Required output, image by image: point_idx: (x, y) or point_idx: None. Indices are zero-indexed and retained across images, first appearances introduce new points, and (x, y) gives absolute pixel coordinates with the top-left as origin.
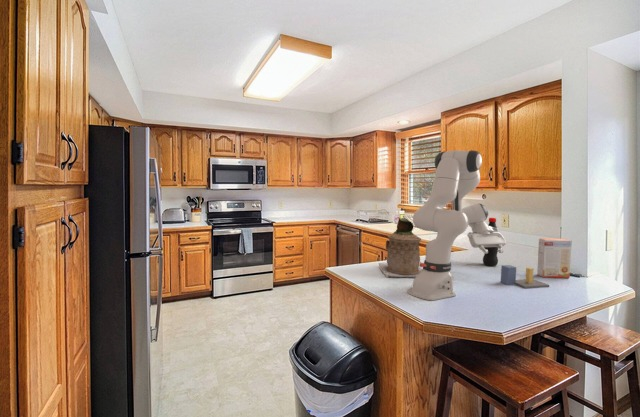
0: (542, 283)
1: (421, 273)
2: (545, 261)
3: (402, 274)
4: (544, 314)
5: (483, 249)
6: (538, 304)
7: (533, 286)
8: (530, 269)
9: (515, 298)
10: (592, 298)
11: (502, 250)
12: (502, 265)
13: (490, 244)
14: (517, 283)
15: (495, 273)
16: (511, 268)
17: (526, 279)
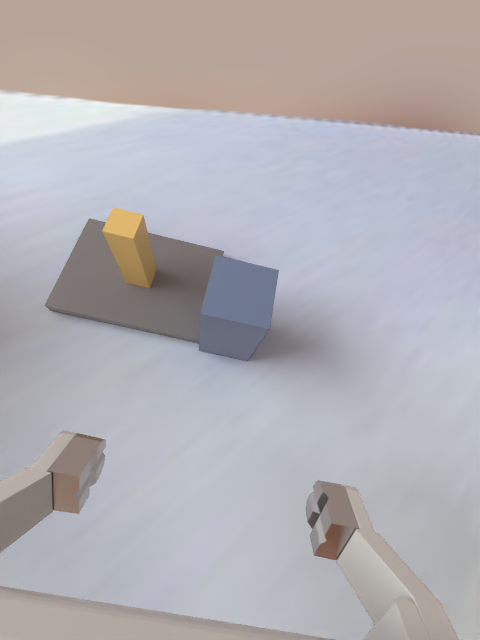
0: (94, 241)
1: None
2: None
3: None
4: (381, 135)
5: (382, 554)
6: (334, 166)
7: (179, 242)
8: (139, 217)
9: (362, 217)
10: (106, 113)
11: (63, 443)
12: (264, 325)
13: (216, 626)
14: None
15: (85, 526)
16: (253, 267)
17: (149, 274)
